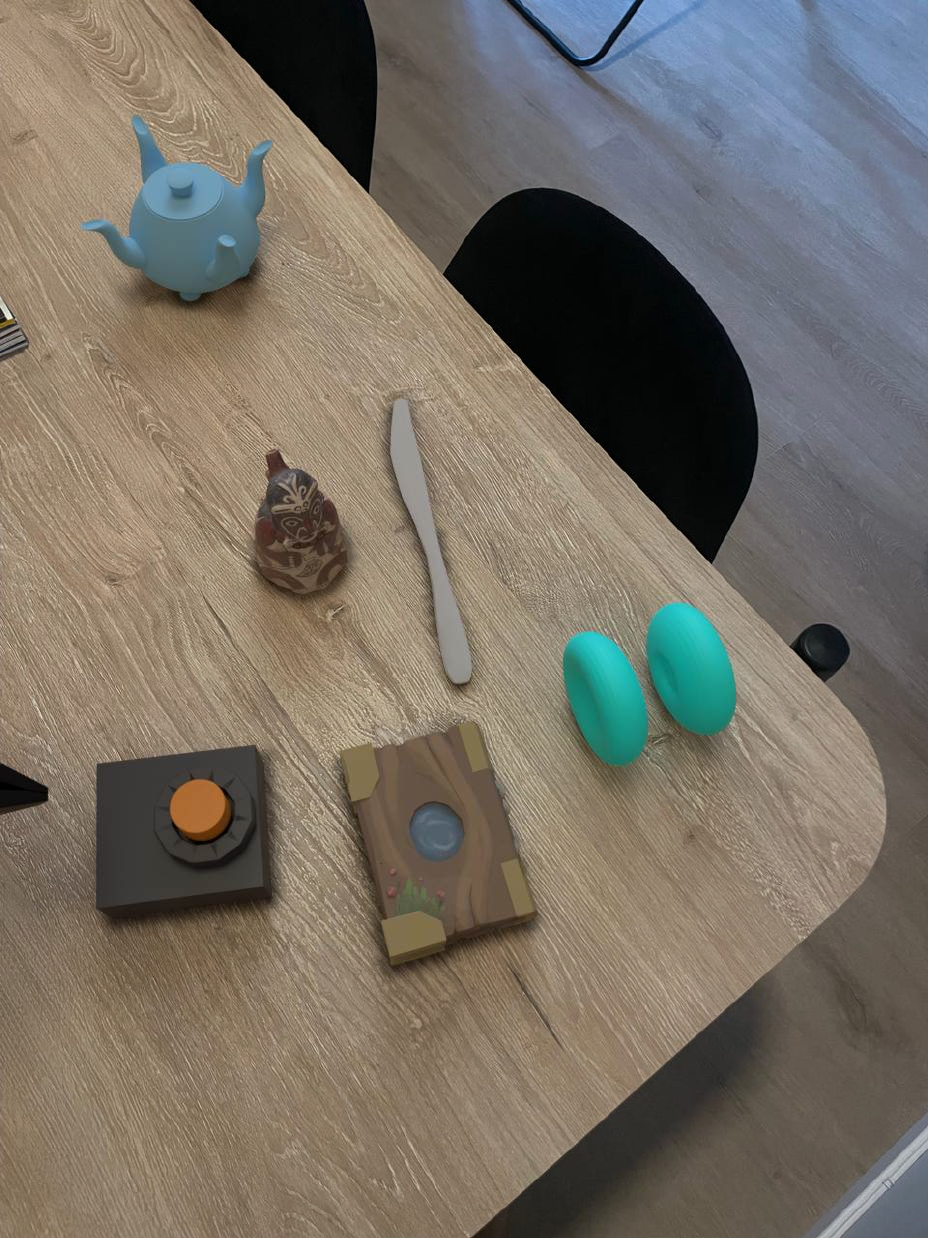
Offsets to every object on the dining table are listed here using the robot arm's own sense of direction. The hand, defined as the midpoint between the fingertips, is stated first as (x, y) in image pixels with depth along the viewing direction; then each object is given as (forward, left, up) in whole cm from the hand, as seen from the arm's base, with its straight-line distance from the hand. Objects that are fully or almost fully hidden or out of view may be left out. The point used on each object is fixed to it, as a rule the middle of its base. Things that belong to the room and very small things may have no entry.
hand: (45, 796), depth 64 cm
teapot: (+25, +48, -14) cm, 56 cm away
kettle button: (+8, -3, -8) cm, 11 cm away
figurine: (+22, +16, -14) cm, 30 cm away
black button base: (+6, -2, -13) cm, 15 cm away
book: (+22, -10, -14) cm, 27 cm away
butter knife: (+31, +13, -13) cm, 37 cm away
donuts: (+40, -7, -14) cm, 43 cm away
